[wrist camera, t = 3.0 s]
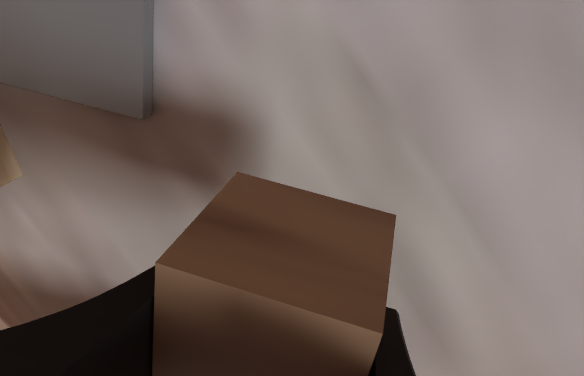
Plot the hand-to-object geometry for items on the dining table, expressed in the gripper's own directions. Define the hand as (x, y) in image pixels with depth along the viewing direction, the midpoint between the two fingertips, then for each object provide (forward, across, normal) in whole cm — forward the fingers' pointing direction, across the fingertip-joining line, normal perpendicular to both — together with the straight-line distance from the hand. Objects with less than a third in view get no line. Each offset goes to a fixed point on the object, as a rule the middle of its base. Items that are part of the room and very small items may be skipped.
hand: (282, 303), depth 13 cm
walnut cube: (+2, 0, 0) cm, 2 cm away
